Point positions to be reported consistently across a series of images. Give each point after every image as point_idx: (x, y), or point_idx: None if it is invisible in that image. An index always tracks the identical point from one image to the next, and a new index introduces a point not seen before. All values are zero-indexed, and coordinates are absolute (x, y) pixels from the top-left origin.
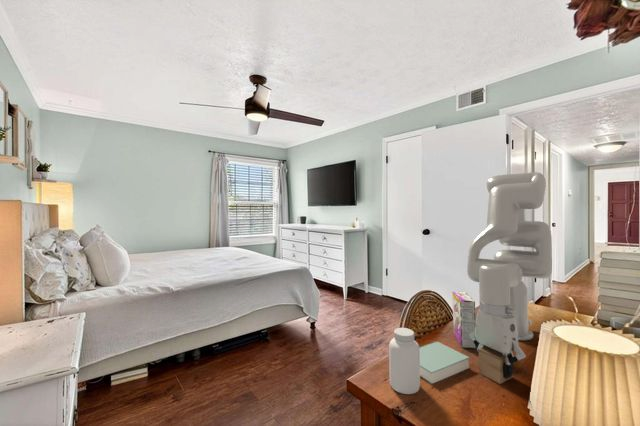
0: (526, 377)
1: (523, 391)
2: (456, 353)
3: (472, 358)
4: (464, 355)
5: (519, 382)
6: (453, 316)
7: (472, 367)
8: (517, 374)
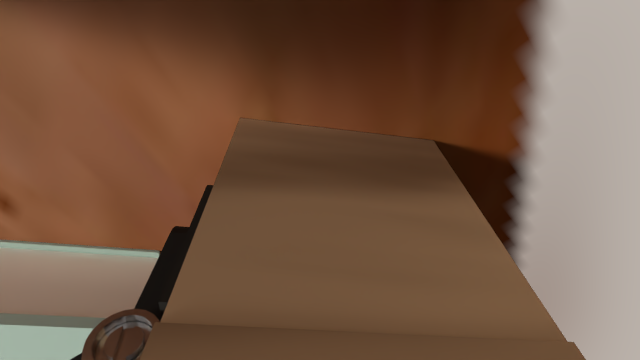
0: (539, 36)
1: (513, 240)
2: (18, 349)
3: (20, 100)
4: (74, 331)
5: (485, 167)
6: None
7: (162, 232)
8: (458, 49)
